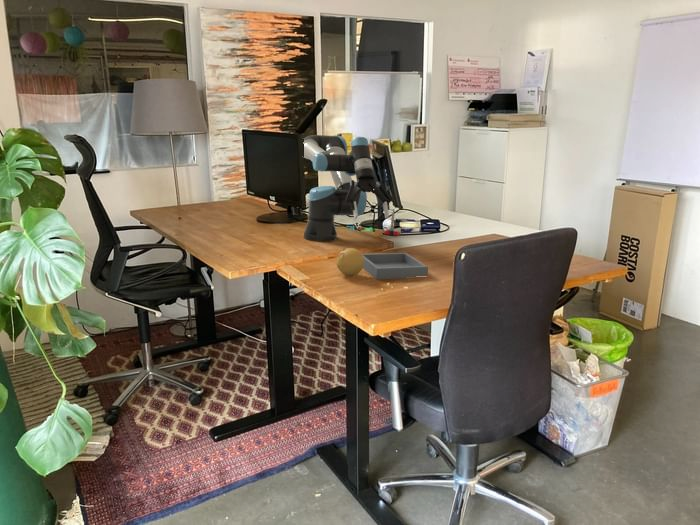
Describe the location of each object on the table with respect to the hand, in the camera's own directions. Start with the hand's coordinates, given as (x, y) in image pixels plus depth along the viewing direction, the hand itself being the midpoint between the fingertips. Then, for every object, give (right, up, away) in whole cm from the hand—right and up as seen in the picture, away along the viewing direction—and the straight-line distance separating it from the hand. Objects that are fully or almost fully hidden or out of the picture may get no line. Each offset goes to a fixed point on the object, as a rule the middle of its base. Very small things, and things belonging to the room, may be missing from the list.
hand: (371, 217), depth 226 cm
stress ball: (-9, -23, -28) cm, 38 cm away
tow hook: (+12, -5, +44) cm, 45 cm away
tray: (+7, -22, -19) cm, 29 cm away
